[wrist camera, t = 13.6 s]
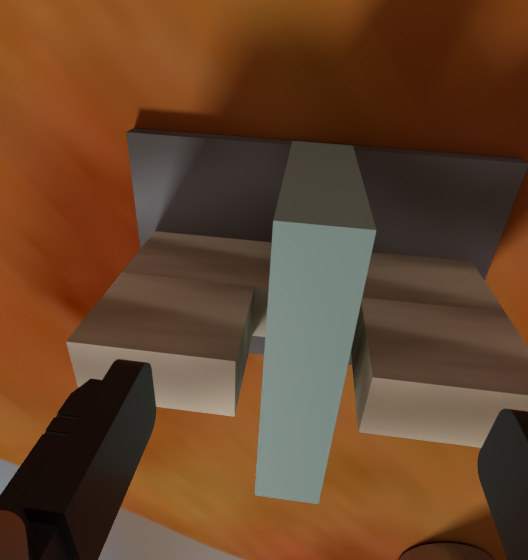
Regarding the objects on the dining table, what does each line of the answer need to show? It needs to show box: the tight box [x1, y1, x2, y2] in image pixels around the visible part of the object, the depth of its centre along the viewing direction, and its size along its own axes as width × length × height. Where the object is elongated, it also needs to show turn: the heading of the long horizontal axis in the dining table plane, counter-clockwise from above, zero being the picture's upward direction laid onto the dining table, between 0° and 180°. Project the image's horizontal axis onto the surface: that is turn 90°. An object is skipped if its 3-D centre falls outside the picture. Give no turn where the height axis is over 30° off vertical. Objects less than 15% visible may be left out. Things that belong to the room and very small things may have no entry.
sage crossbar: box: [255, 141, 376, 504], centre depth 20 cm, size 14×3×10 cm, turn 177°
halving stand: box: [66, 128, 528, 448], centre depth 21 cm, size 14×20×11 cm
